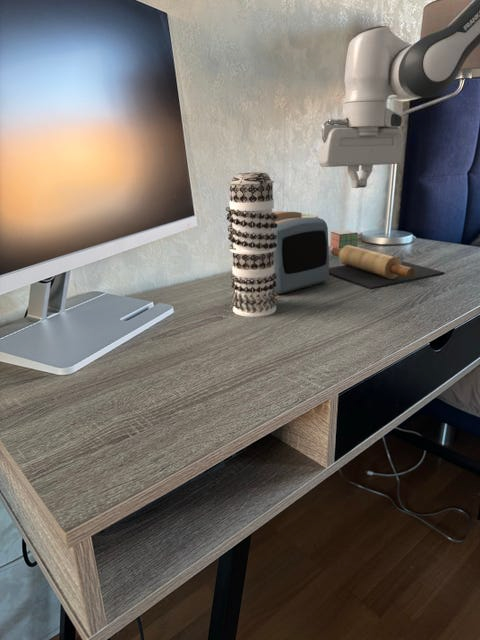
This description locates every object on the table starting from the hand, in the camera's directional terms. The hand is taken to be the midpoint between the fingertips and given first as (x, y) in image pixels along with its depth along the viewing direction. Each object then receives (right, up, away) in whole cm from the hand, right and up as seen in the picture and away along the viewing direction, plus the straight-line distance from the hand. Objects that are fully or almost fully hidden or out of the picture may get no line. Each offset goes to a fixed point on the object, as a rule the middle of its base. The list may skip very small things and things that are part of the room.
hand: (358, 187), depth 98 cm
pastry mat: (+8, -18, +9) cm, 21 cm away
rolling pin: (+4, -18, +9) cm, 20 cm away
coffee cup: (-9, -13, +22) cm, 28 cm away
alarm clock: (-17, -21, +4) cm, 27 cm away
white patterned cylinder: (-23, -27, -12) cm, 38 cm away
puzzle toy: (+4, -9, +31) cm, 33 cm away
